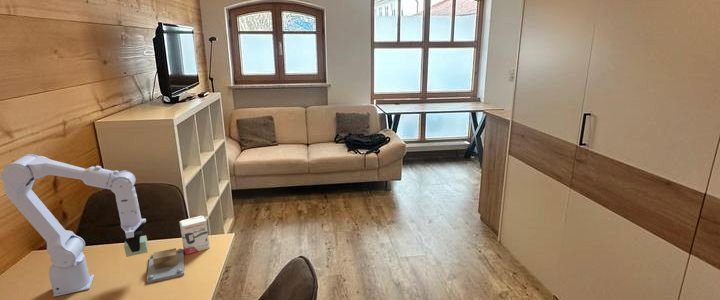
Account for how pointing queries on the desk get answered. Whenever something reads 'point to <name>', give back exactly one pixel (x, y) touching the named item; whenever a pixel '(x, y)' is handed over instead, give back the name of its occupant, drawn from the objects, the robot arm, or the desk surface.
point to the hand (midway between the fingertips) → (136, 247)
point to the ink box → (194, 234)
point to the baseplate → (166, 269)
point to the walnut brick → (165, 258)
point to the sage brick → (142, 247)
